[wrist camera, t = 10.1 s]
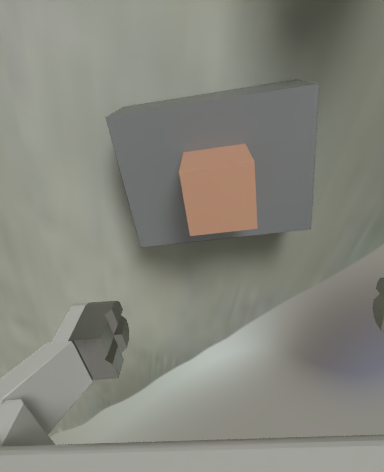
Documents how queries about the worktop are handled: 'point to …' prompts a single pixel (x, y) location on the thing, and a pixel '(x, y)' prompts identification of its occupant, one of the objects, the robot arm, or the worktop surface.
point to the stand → (213, 136)
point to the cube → (219, 189)
